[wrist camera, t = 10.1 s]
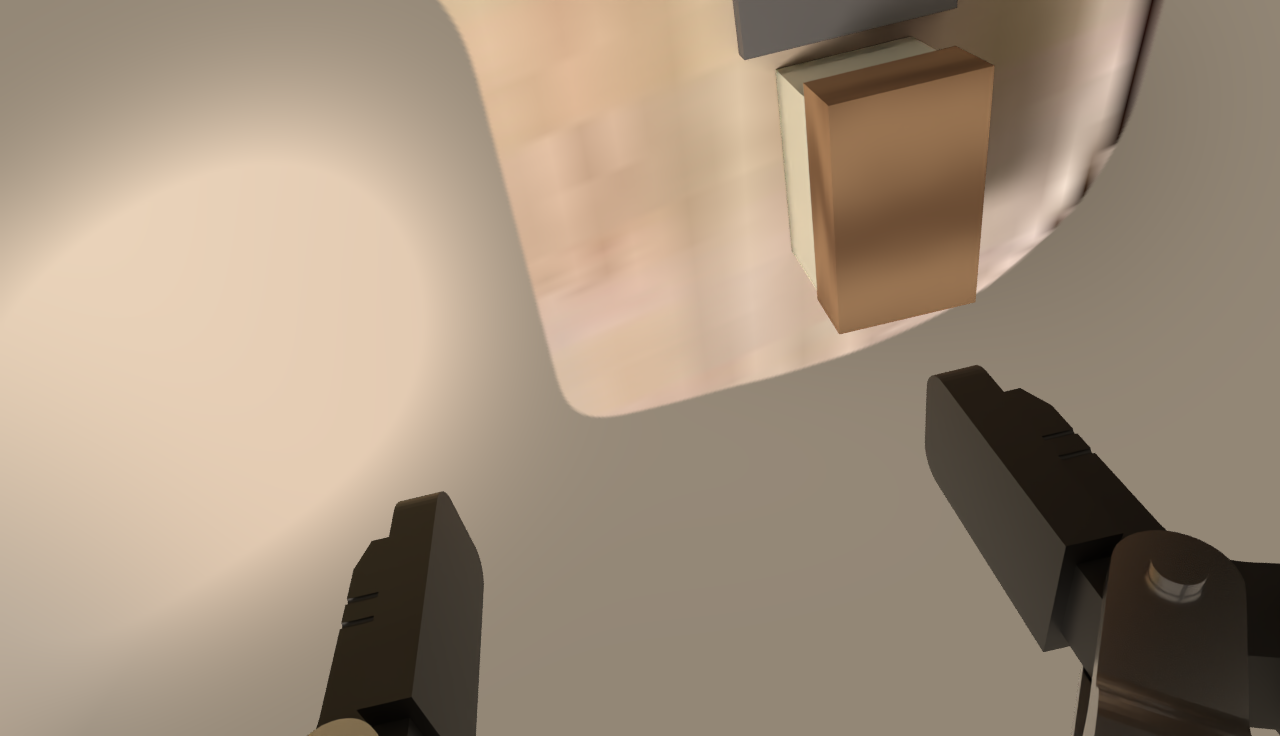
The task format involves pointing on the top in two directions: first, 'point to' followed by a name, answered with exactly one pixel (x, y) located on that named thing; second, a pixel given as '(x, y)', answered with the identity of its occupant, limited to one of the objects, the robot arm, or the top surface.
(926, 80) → the lid
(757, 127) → the top surface
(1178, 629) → the robot arm
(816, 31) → the mat
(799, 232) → the dish
